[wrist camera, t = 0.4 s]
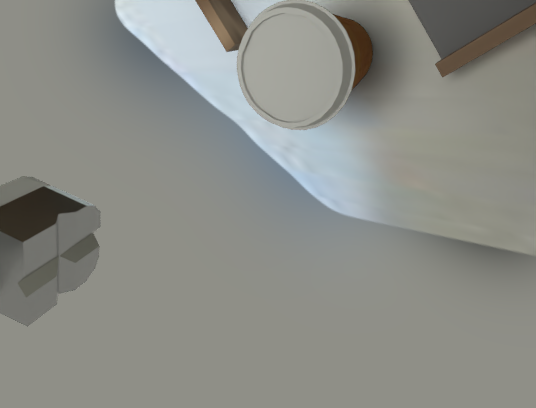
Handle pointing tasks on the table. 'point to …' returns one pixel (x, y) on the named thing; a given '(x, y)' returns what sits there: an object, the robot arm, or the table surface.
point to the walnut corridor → (233, 29)
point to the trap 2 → (463, 19)
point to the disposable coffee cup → (301, 63)
